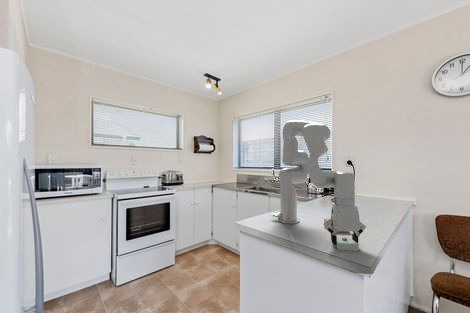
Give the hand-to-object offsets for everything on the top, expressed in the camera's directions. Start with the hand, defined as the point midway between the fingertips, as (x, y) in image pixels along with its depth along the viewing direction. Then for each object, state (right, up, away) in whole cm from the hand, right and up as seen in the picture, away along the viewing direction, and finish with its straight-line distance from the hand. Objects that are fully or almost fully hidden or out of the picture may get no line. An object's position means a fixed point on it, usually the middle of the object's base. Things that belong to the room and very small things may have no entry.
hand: (344, 244), depth 83 cm
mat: (0, -1, 0) cm, 1 cm away
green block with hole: (0, -1, 0) cm, 1 cm away
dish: (+7, -2, +21) cm, 22 cm away
